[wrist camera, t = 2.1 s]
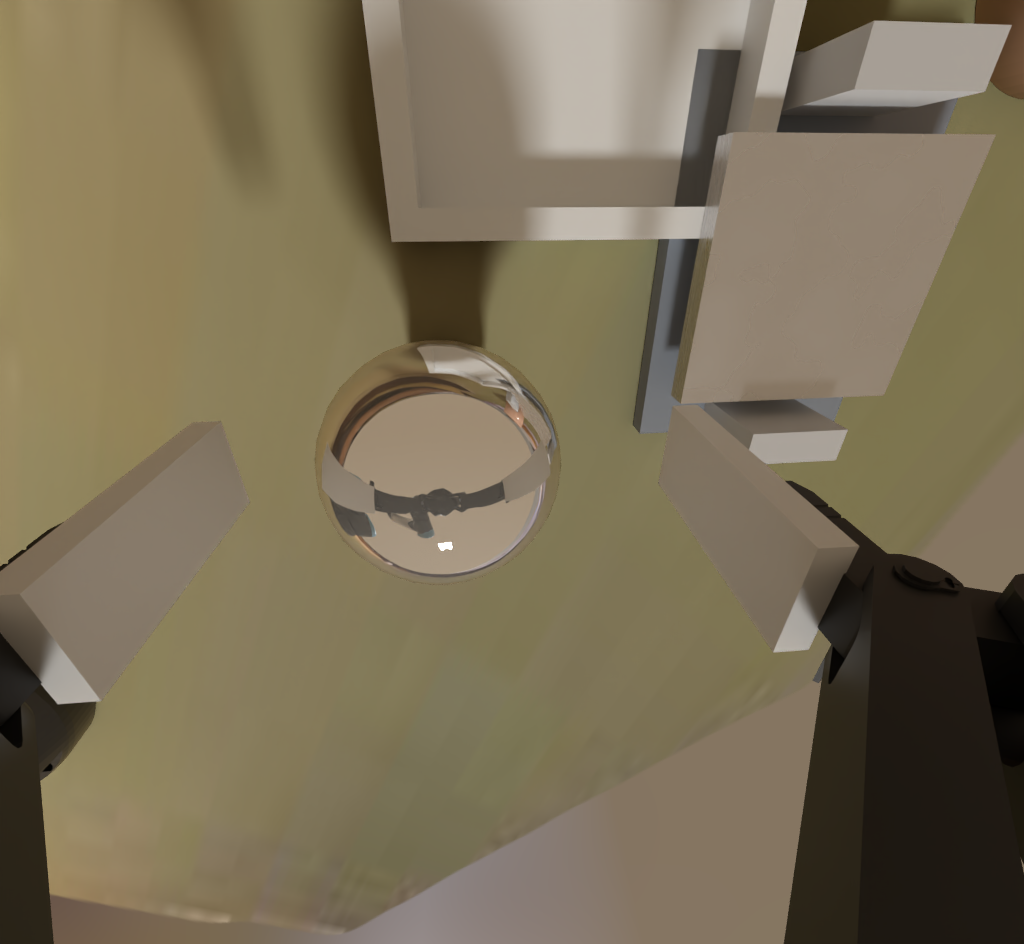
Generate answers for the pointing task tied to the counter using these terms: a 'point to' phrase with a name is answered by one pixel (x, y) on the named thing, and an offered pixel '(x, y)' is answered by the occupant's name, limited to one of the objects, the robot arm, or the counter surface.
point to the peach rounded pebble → (1006, 43)
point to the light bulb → (437, 462)
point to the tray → (562, 111)
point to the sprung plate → (817, 260)
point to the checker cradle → (812, 109)
